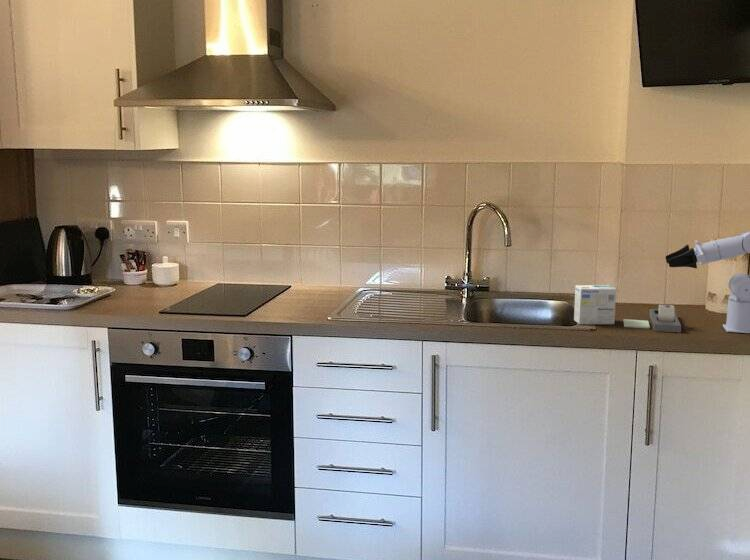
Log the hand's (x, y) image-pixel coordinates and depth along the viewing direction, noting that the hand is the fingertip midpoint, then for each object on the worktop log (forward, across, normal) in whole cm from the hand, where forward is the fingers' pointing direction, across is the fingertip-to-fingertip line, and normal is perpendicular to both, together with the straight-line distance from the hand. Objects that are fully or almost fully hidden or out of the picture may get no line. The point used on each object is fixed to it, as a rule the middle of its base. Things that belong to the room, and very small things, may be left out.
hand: (667, 261), depth 229 cm
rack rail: (+5, -2, +18) cm, 19 cm away
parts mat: (+12, 0, +16) cm, 20 cm away
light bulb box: (+24, 0, +13) cm, 27 cm away
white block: (+5, +1, +18) cm, 19 cm away
